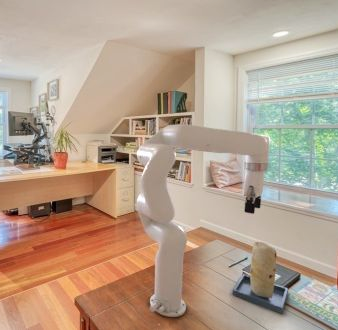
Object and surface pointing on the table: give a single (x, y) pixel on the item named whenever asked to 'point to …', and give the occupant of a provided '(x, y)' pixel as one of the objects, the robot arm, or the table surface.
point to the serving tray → (246, 293)
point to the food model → (263, 269)
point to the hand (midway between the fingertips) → (252, 210)
